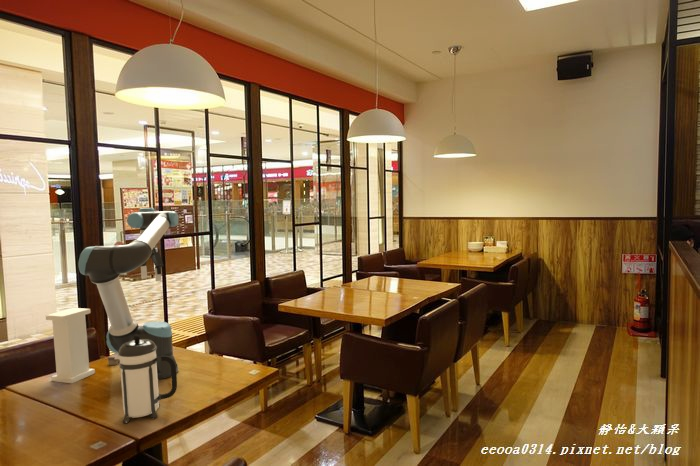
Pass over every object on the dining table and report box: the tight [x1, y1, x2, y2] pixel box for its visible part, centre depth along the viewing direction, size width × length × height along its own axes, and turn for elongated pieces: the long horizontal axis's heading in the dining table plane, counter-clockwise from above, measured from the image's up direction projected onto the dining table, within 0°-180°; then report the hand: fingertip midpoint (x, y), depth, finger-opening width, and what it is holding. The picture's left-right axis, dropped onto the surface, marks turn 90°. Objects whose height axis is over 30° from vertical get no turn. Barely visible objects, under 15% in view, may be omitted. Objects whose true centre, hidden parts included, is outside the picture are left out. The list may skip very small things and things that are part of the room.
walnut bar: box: [107, 353, 120, 366], centre depth 235 cm, size 24×4×4 cm, turn 176°
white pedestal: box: [45, 307, 96, 384], centre depth 207 cm, size 14×12×30 cm
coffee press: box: [114, 335, 178, 424], centre depth 168 cm, size 17×16×30 cm
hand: (151, 279), depth 234 cm, fingers open, 13 cm apart
